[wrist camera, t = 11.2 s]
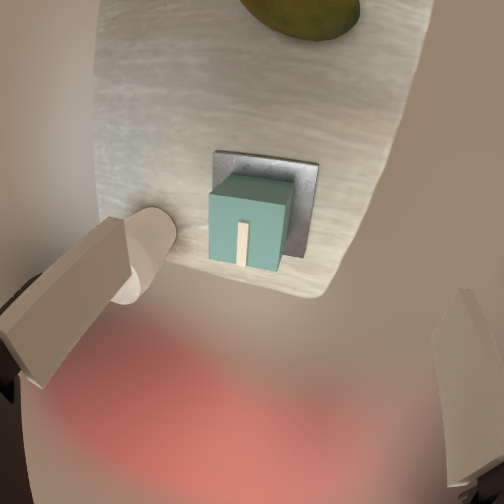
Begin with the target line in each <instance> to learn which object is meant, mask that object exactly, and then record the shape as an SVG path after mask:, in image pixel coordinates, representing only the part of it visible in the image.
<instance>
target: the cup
mask: <svg viewBox="0 0 504 504" xmlns="http://www.w3.org/2000/svg"><path fill="white" fill-rule="evenodd" d="M124 227H125V234H126V241H127V248H128V254H129V260H130V266H131V272H132V275H131V276H130V278H129V279H128V280H127V281H126V282H125V284H124V285H123V286H122V287H121V288H120V289H119V291H118V292H117V293H116V294H115V295H114V297H113V298H112V299H111V301H113V302H115V303H119V304H131V303H133V302H135V301H136V300H137V299H138V298H139V297H140V295H141V294H142V293H143V292H144V291H145V290H146V289H147V288H148V287H149V286H150V285H151V283H152V281H153V279H154V278H155V276H156V274H157V272H158V270H159V268H160V266H161V265H162V263H163V261H164V259H165V257H166V256H167V254H168V252H169V250H170V248H171V247H172V245H173V243H174V241H175V239H176V227H175V224H174V222H173V220H172V219H171V218H170V216H169V215H168V214H167V213H165V212H164V211H162V210H161V209H158V208H155V207H148V208H145V209H143V210H141V211H139V212H137V213H135V214H133V215H131V216H129V217H127V218H126V219H124Z"/></svg>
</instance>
